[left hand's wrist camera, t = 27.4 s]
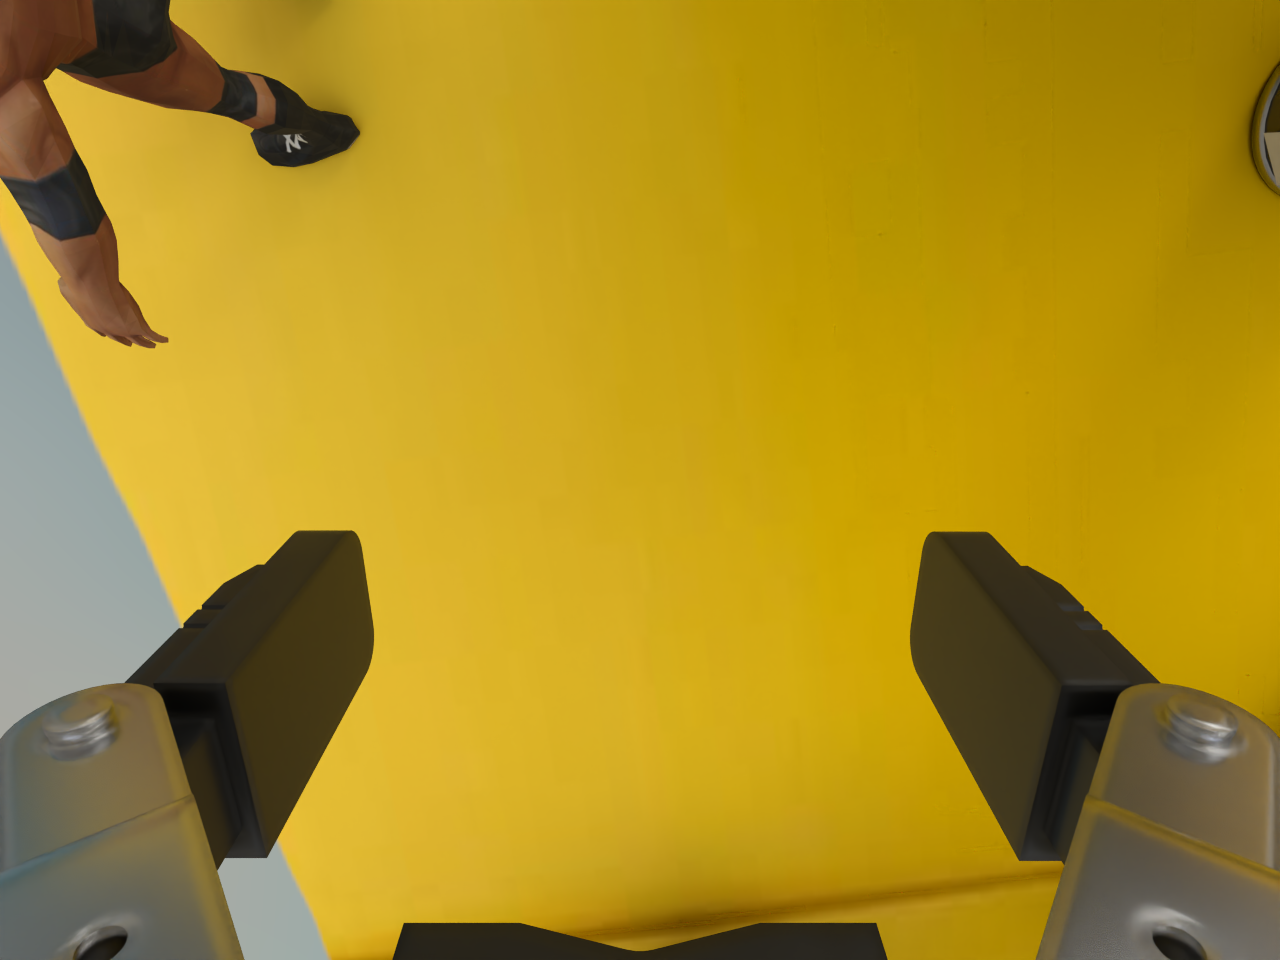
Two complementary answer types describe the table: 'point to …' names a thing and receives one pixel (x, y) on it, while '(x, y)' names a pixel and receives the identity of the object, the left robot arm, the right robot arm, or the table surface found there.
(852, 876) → the table surface
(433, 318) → the table surface
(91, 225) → the figurine
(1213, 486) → the table surface
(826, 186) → the table surface
